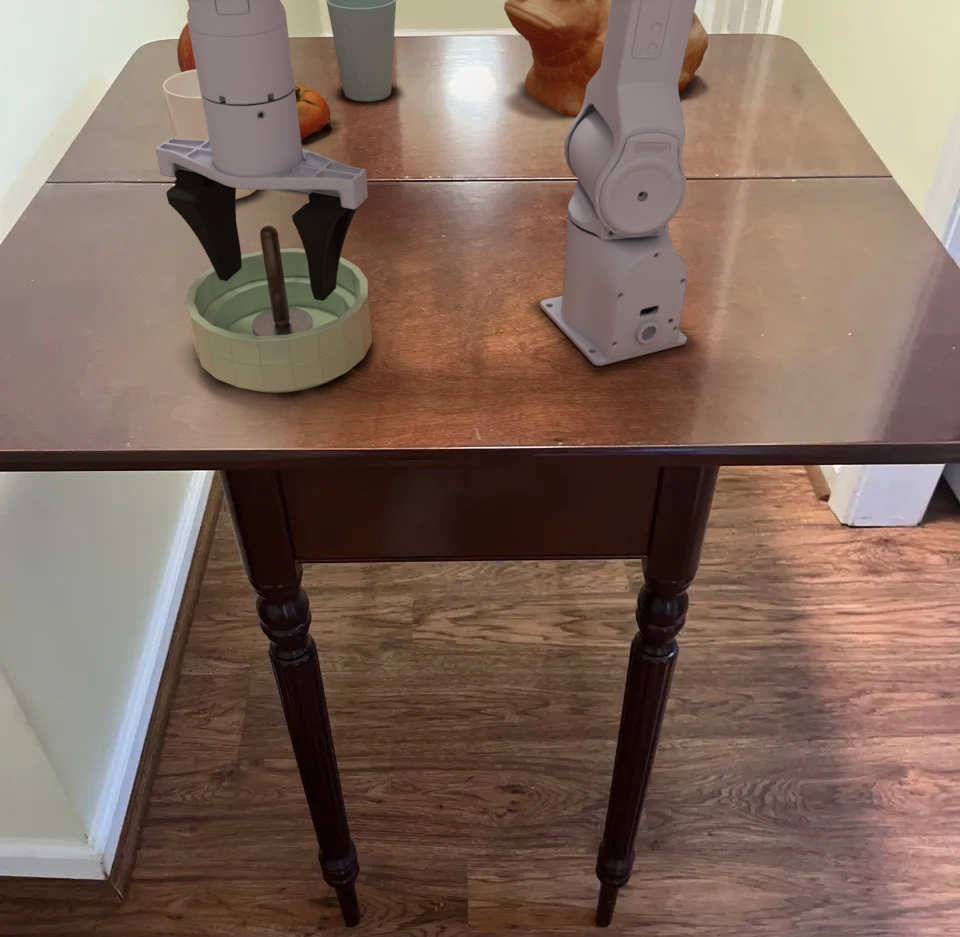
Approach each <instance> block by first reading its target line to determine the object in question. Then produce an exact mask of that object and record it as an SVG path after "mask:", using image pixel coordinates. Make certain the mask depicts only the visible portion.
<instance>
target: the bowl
mask: <svg viewBox="0 0 960 937" xmlns="http://www.w3.org/2000/svg"><path fill="white" fill-rule="evenodd" d="M280 252H281V259H282V266H283V273H284V280H285V287H286V294H287V301H288V307H294V308H299V309H302V310H304V311H306V312H308V313H309V314H310V316H311V317H312V320H313V328H314V329H310V330H306V331H301V332H297V333H292V334H288V335H269V336H255V335H253V331H252V322H253V320H254V319H255V317H256V316H258V315H259V314H260V313H262V312H264V311H267V310H270V309H272V308H271V302H270V295H269V289H268V283H267V276H266V270H265V263H264V257H263V251H262V250H259V251H254V252H253V251H252V252H248V253H243V254H241V260H242V265H241V269H240V270H239V271H238V272H237V273H236V274H235V275H233V276H232V277H231V278H230V279H229V280H228V281H223V280H219V278H218V276H217V274H216V272H215V270H214V267H213V266H212V267H211V268H209V269H208V270H205V271H204V272H202V273H201V274H200V275H199V276H198V277H197V278H196V280H194V281H193V283H192V284H191V285H190V286H189V288H188V290H187V294H186V297H185V302H184V304H185V308H186V313H187V317H188V321H189V325H190V330H191V333H192V340H193V345H194V349H195V353H196V355H197V358H198V361H199V363H200V366H201V367H202V368H203V369H204V370H205V371H207V372H208V373H209V374H210V375H211V376H212V377H214V378H215V379H217V380H219V381H221V382H224V383H226V384H228V385H231V386H234V387H237V388H239V389H243V390H244V389H245V390H248V391H255V392H260V393H273V394H274V393H275V394H278V393H292V392H298V391H304V390H309V389H312V388H315V387H319V386H321V385H324V384H327V383H329V382H331V381H333V380H336V378H338V377H340V376H343V375H344V374H346V373H347V372H349V371H350V370H352V369H353V368H354V367H355V366H356V365H357V364H358V363H360V362H361V361H362V360H363V359H364V358H365V356H366V355H367V353H368V351H369V349H370V347H371V345H372V344H373V337H372V336H373V331H372V330H373V328H372V315H371V314H372V313H371V302H370V291H369V281H368V279H367V277H366V276H365V274H364V273H363V271H362V270H361V268H360V267H359V266H357V265H355V264H354V263H352V262H351V261H349V259H346V258H345V257H343V256H340V260H339V266H338V272H337V281H336V289H335V290H334V291H333V292H332V293H331V294H330V295H329V296H328V297H327V298H326V299H325V300H324V301H320V300H316V299H314V296H313V293H312V290H311V284H310V277H309V268H308V261H307V257H306V253H305V250H304V248H298V247H297V248H296V247H287V248H280Z"/></svg>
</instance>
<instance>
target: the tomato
mask: <svg viewBox="0 0 960 937" xmlns="http://www.w3.org/2000/svg"><path fill="white" fill-rule="evenodd" d="M294 86H295V94H296V102H297V111H298V119H299V128H300V136H301V141H302V140H304V139H305V138H306V137H308V136H309V135H310V134H312V133H316V132H320V131H321V130H322V129H323V128H324V127H325V126H326V125H327V123H329V126H331V124H332V123H331V122H332V119H331V110H330V107H329V104H328V103H327V101H326V99H325V98H324V97H323V96H322V95H321V94H320V93H318V92H317V91H316V90H314V89H313V88H311V87H308V86H306V85H302V84H294ZM329 121H330V122H329Z"/></svg>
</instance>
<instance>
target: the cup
mask: <svg viewBox="0 0 960 937" xmlns="http://www.w3.org/2000/svg"><path fill="white" fill-rule="evenodd" d="M326 6H327V11H328V17H329V21H330V27H331V31H332V32H331V33H332V37H333V43H334V48H335V53H336V58H337V63H338V69H339V75H340V79H341V85H342V90H343V94H344V96H345V97H346V98H347V99H349V100H352V101H356V102H376V101H381V100H384V99H387V98H388V97H389V96H391V94H392V84H393V65H394V50H395V49H394V47H395V46H394V45H395V31H396V30H395V29H396V28H395V27H396V10H397V0H326Z"/></svg>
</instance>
